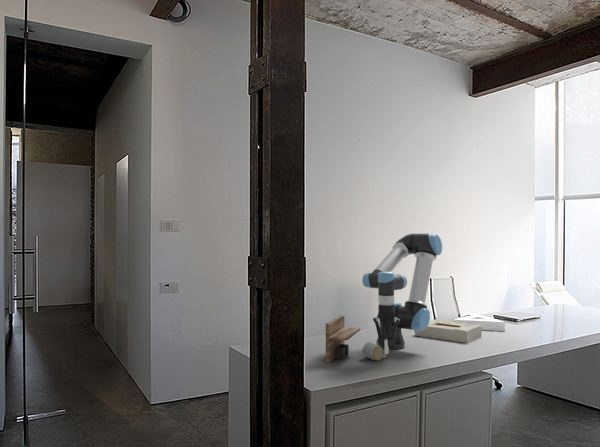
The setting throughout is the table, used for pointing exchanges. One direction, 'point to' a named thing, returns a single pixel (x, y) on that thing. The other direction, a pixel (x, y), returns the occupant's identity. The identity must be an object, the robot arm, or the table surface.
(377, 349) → the ceramic mug
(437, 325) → the box
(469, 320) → the triangle block
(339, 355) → the walnut shelf
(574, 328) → the table surface
